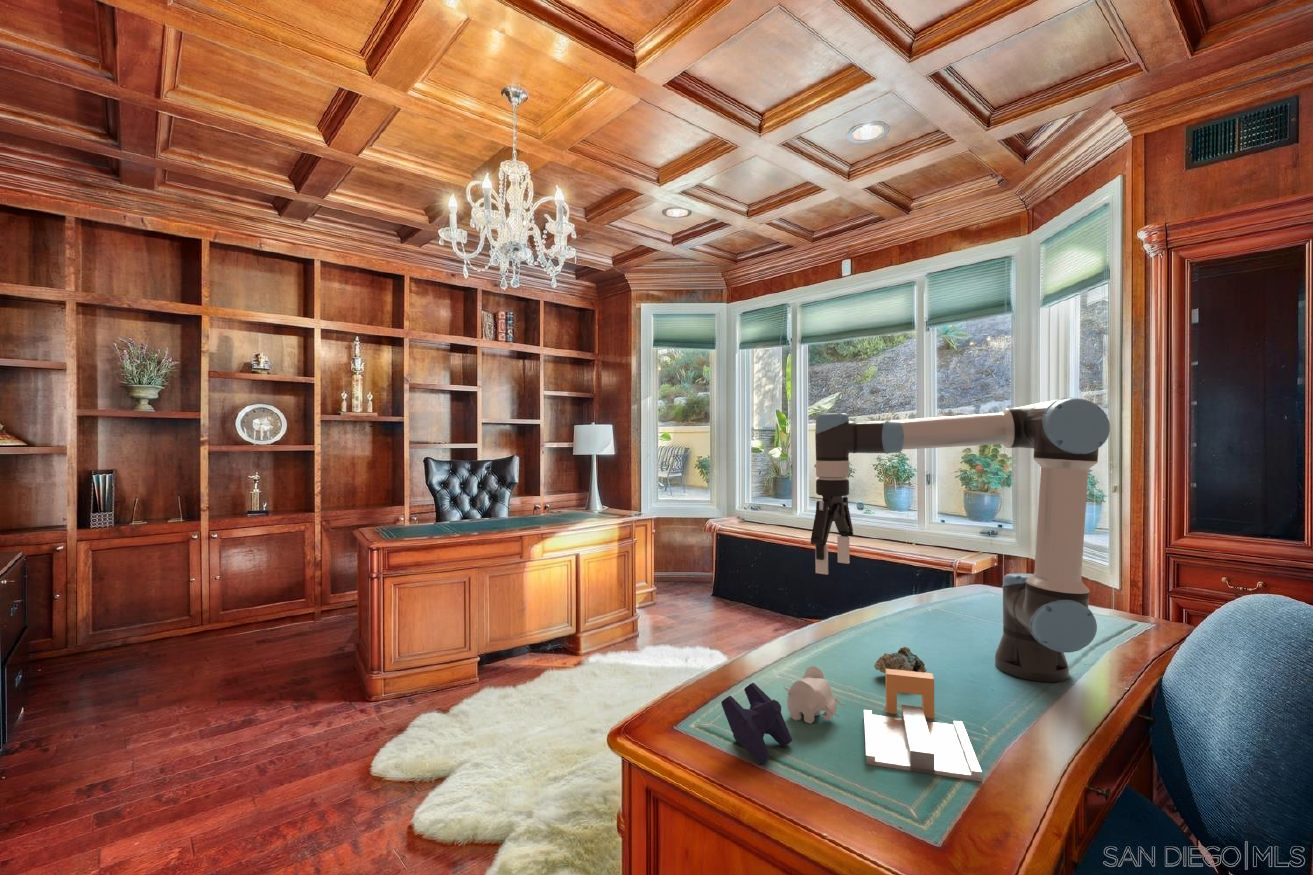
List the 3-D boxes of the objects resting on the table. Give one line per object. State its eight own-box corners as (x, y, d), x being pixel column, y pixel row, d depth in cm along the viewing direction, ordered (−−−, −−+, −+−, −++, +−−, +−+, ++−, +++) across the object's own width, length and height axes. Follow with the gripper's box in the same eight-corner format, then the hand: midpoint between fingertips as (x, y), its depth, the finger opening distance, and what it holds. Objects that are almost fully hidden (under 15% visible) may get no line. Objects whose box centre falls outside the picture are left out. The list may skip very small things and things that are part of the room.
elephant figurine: (835, 735, 115) (834, 689, 115) (775, 720, 121) (775, 676, 121) (848, 715, 123) (847, 671, 123) (791, 701, 129) (791, 660, 129)
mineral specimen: (899, 686, 134) (910, 652, 135) (865, 669, 142) (875, 636, 143) (928, 692, 141) (938, 659, 142) (894, 676, 149) (903, 644, 150)
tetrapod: (806, 743, 110) (792, 679, 112) (772, 770, 101) (757, 701, 103) (756, 739, 118) (743, 679, 119) (719, 764, 109) (706, 699, 111)
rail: (962, 729, 116) (962, 711, 116) (981, 781, 99) (981, 760, 99) (863, 717, 122) (863, 700, 122) (866, 764, 105) (866, 744, 105)
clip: (932, 711, 124) (932, 673, 124) (934, 718, 121) (934, 679, 121) (885, 706, 127) (885, 668, 127) (886, 712, 124) (886, 673, 124)
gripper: (836, 474, 155) (837, 557, 155) (794, 481, 135) (795, 576, 135) (865, 475, 150) (866, 560, 150) (827, 482, 130) (828, 580, 130)
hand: (833, 568), depth 143 cm, fingers open, 13 cm apart
